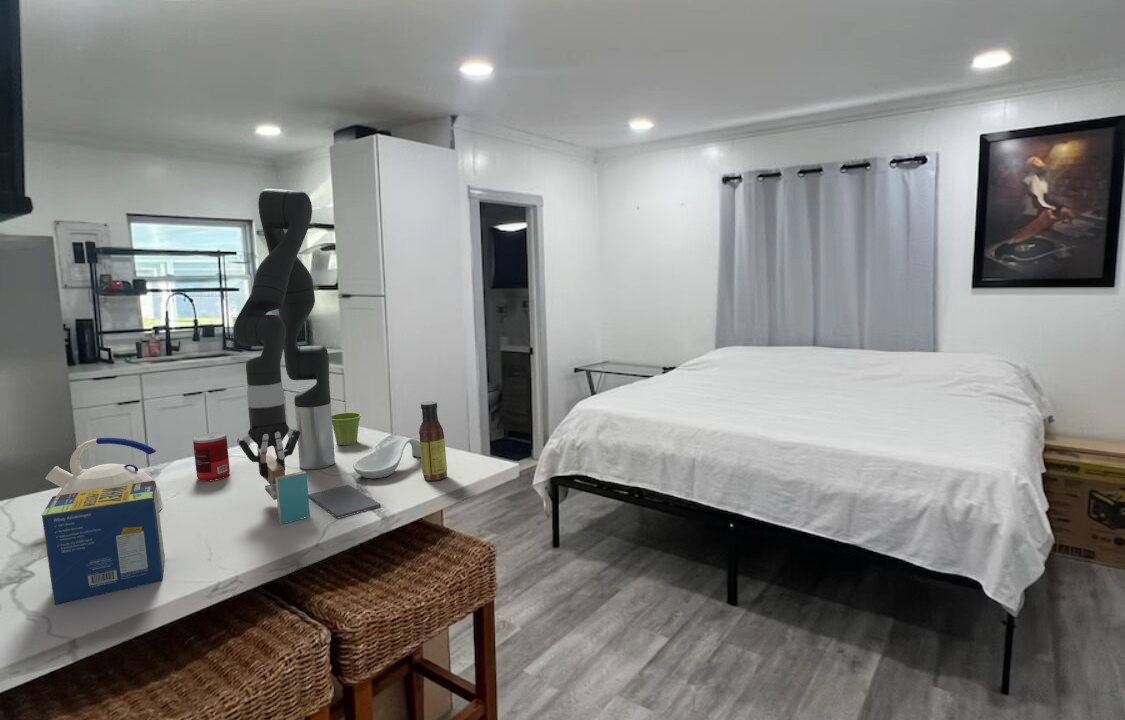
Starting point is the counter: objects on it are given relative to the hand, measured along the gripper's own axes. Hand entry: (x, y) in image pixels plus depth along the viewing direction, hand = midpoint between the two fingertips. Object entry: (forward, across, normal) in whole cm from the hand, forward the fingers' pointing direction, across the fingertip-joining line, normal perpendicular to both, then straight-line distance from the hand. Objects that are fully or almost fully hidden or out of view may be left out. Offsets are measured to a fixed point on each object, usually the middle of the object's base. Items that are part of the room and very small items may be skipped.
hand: (272, 475), depth 145 cm
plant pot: (+7, -33, -39) cm, 52 cm away
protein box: (+7, +33, +19) cm, 38 cm away
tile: (+7, 0, +13) cm, 15 cm away
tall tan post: (+1, 0, +3) cm, 3 cm away
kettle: (+7, +30, -18) cm, 36 cm away
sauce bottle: (+7, -36, +10) cm, 38 cm away
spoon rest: (+7, -32, -6) cm, 33 cm away
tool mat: (+7, -12, +10) cm, 17 cm away
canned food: (+7, +6, -32) cm, 33 cm away
